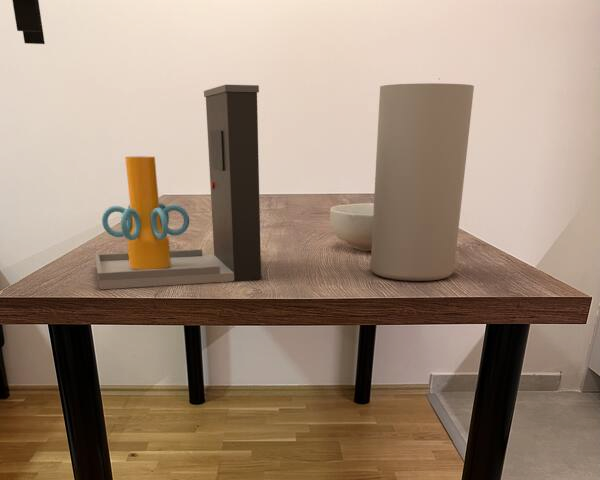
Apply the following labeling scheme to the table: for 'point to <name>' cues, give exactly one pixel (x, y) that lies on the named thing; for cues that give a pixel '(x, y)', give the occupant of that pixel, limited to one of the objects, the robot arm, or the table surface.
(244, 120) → the grey l-shaped stand
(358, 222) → the cereal bowl
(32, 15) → the robot arm
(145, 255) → the cylinder
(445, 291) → the table surface
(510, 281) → the table surface
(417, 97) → the cylinder vase
